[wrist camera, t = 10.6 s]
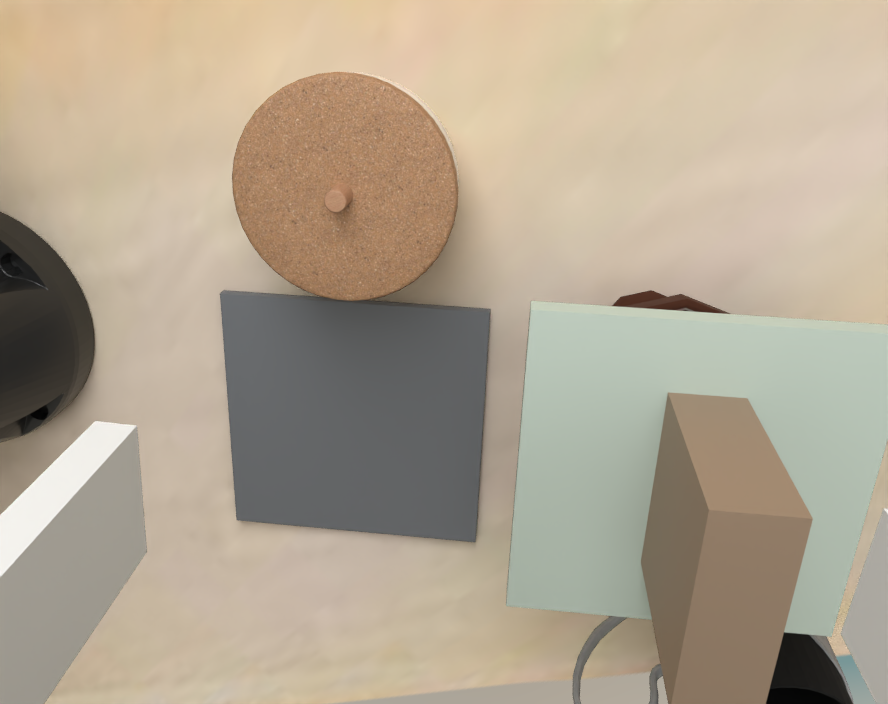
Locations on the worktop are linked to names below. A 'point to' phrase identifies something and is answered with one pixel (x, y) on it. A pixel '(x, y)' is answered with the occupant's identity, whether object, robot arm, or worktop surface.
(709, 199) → the worktop surface
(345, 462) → the square tray
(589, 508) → the board
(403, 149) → the lidded jar
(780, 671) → the glass holder
